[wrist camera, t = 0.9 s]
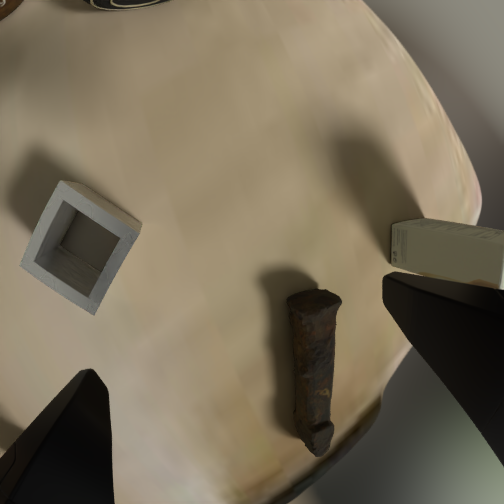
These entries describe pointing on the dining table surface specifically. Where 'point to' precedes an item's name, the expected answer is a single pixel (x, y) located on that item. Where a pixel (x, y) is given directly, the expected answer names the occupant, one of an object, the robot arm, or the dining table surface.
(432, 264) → the skincare box
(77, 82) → the dining table surface
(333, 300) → the hand tool
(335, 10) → the dining table surface
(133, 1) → the headphones
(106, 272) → the square hollow container
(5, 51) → the dining table surface
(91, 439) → the robot arm
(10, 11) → the utensil holder
